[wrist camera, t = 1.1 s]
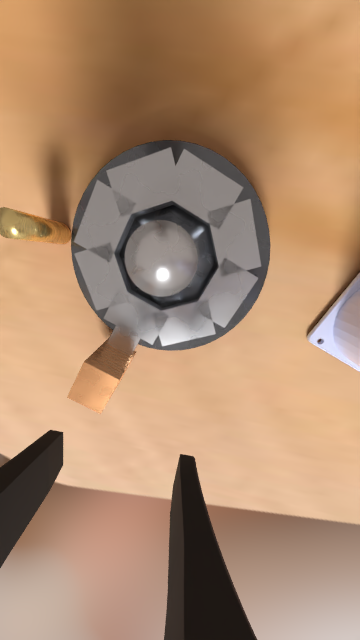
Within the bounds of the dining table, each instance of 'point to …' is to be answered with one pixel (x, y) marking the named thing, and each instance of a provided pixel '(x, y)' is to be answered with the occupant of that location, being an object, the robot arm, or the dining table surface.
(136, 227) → the post base
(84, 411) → the dining table surface
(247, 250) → the grey handled ring
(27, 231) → the dowel pin
